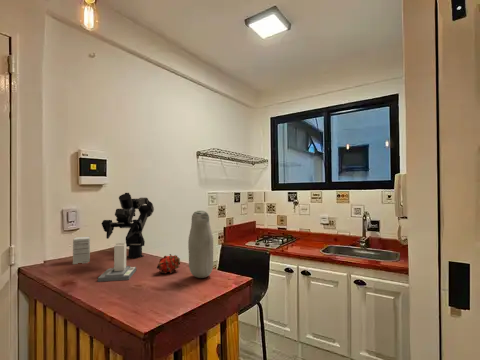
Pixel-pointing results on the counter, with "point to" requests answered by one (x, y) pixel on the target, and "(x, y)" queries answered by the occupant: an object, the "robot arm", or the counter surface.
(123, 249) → the cream tall block
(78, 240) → the grey ridged block
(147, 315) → the counter surface
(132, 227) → the robot arm
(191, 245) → the grey bottle
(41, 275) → the counter surface
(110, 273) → the docking station
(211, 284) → the counter surface
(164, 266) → the dragon fruit
